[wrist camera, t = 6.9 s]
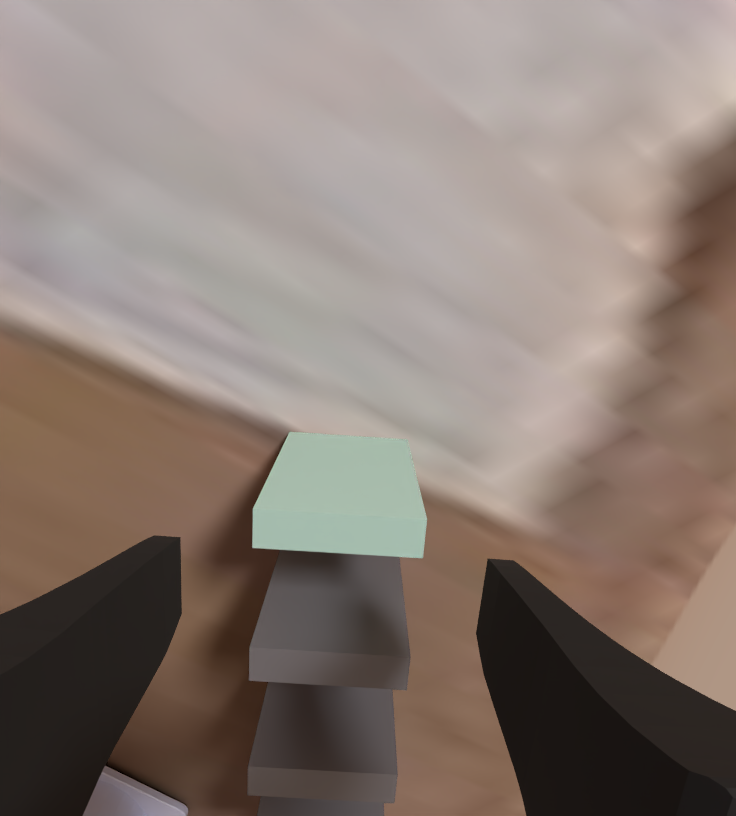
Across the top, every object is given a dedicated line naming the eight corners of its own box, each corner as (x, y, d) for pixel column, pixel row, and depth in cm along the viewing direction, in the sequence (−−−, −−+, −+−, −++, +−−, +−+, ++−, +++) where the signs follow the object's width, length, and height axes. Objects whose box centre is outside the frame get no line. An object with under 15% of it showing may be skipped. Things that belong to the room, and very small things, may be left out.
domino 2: (386, 650, 24) (394, 803, 17) (281, 644, 24) (247, 795, 17) (388, 628, 23) (397, 774, 17) (282, 621, 23) (248, 766, 16)
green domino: (289, 431, 21) (253, 509, 14) (407, 439, 21) (426, 519, 14) (288, 459, 21) (252, 547, 14) (404, 466, 21) (422, 558, 15)
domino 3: (378, 729, 25) (383, 901, 18) (278, 723, 25) (245, 894, 18) (380, 709, 24) (386, 876, 18) (279, 703, 24) (246, 869, 18)
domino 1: (394, 564, 22) (406, 690, 16) (284, 556, 22) (248, 680, 16) (397, 539, 22) (410, 656, 15) (285, 531, 22) (249, 647, 15)
